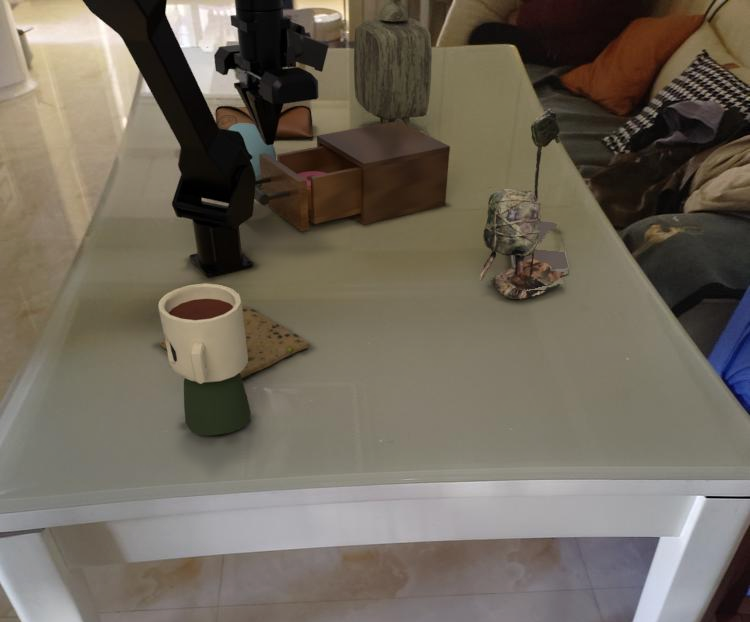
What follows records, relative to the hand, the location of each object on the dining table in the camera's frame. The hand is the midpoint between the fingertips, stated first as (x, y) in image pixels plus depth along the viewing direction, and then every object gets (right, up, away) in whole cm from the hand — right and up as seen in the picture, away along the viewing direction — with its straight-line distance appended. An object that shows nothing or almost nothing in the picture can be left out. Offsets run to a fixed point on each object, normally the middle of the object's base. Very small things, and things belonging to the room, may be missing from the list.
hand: (269, 144), depth 101 cm
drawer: (+4, -5, +9) cm, 11 cm away
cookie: (-1, -31, -17) cm, 35 cm away
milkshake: (-2, +36, +55) cm, 66 cm away
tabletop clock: (+17, +20, +38) cm, 46 cm away
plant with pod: (+33, -21, -6) cm, 39 cm away
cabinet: (+15, -2, +15) cm, 21 cm away
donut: (+5, -4, +9) cm, 11 cm away
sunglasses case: (-6, +19, +37) cm, 42 cm away
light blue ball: (-7, +3, +19) cm, 21 cm away
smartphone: (+36, -14, +2) cm, 39 cm away
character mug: (-1, -41, -27) cm, 49 cm away
